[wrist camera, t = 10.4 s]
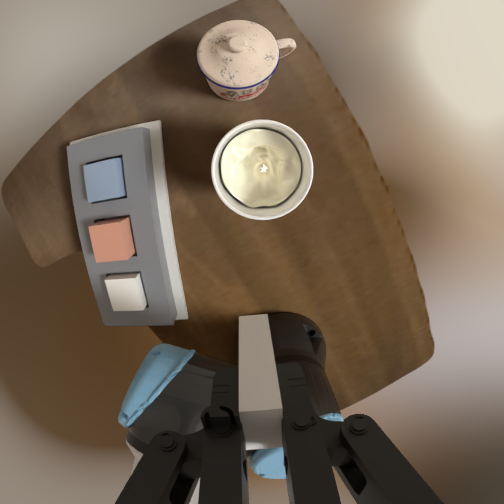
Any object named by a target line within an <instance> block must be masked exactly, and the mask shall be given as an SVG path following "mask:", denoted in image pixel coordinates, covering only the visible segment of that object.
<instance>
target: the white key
mask: <svg viewBox="0 0 504 504" xmlns="http://www.w3.org/2000/svg"><path fill="white" fill-rule="evenodd" d="M105 284H106V287H107V291H108V295H109V298H110V301H111V305H112V308H113V311H140V310H144V309H145V307H146V305H147V303H148V300H147V296H146V292H145V288H144V284H143V279H142V275H141V271H135V272H122V273H111V274H110V275H109V276H108V277H107V278H106V279H105Z"/></svg>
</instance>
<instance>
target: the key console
mask: <svg viewBox="0 0 504 504" xmlns="http://www.w3.org/2000/svg"><path fill="white" fill-rule="evenodd" d="M67 157H68V167H69V176H70V184H71V191H72V198H73V204H74V210H75V216H76V222H77V227H78V232H79V237H80V241H81V246H82V250H83V254H84V259H85V263H86V267H87V270H88V274H89V278H90V281H91V285H92V288H93V292H94V295H95V299H96V302H97V305H98V308H99V311H100V314H101V317H102V320H103V323H104V326H160V325H174V322H175V320H181V319H188V317H189V316H188V312H187V307H186V302H185V297H184V291H183V286H182V281H181V275H180V270H179V264H178V258H177V252H176V246H175V239H174V233H173V226H172V219H171V212H170V204H169V196H168V188H167V180H166V170H165V161H164V150H163V139H162V126H161V121H160V120H157V121H152V122H147V123H142V124H137V125H133V126H128V127H124V128H120V129H116V130H112V131H108V132H104V133H100V134H96V135H93V136H89V137H86V138H82V139H79V140H76V141H72V142H70V145H69V146H67ZM114 158H123V166H124V175H125V183H126V191H127V195H124V196H121V197H117V198H111V199H106V200H100V201H95V202H89V203H88V199H87V192H86V185H85V177H84V168H83V166H84V165H88V164H92V163H96V162H101V161H105V160H109V159H114ZM125 217H129V219H130V225H131V231H132V237H133V242H134V247H135V253H134V254H133V255H132V256H131V257H130V258H129V259H128V260H120V261H109V262H98V263H96V260H95V256H94V251H93V247H92V242H91V238H90V233H89V228H88V226H90V225H92V224H94V223H96V222H98V221H104V220H111V219H118V218H125ZM135 271H141V275H142V279H143V284H144V288H145V292H146V296H147V300H148V303H147V305H146V307H145V309H144V310H140V311H113V308H112V305H111V301H110V298H109V295H108V291H107V287H106V284H105V279H106V278H107V277H108V276H109V275H110V274H111V273H122V272H135Z"/></svg>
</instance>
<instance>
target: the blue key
mask: <svg viewBox="0 0 504 504" xmlns="http://www.w3.org/2000/svg"><path fill="white" fill-rule="evenodd" d="M83 168H84V177H85V185H86V192H87V199H88V203H89V202H95V201H100V200H106V199H111V198H117V197H121V196H124V195H127V191H126V183H125V175H124V166H123V158H114V159H109V160H105V161H101V162H96V163H92V164H88V165H84V166H83Z"/></svg>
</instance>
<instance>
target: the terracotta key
mask: <svg viewBox="0 0 504 504" xmlns="http://www.w3.org/2000/svg"><path fill="white" fill-rule="evenodd" d="M88 228H89V233H90V238H91V242H92V247H93V251H94V256H95V260H96V263H98V262H109V261H120V260H128V259H129V258H130V257H131V256H132V255H133V254H134V253H135V247H134V242H133V237H132V231H131V225H130V219H129V217H125V218H118V219H111V220H104V221H98V222H96V223H94V224H92V225H90V226H88Z"/></svg>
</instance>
